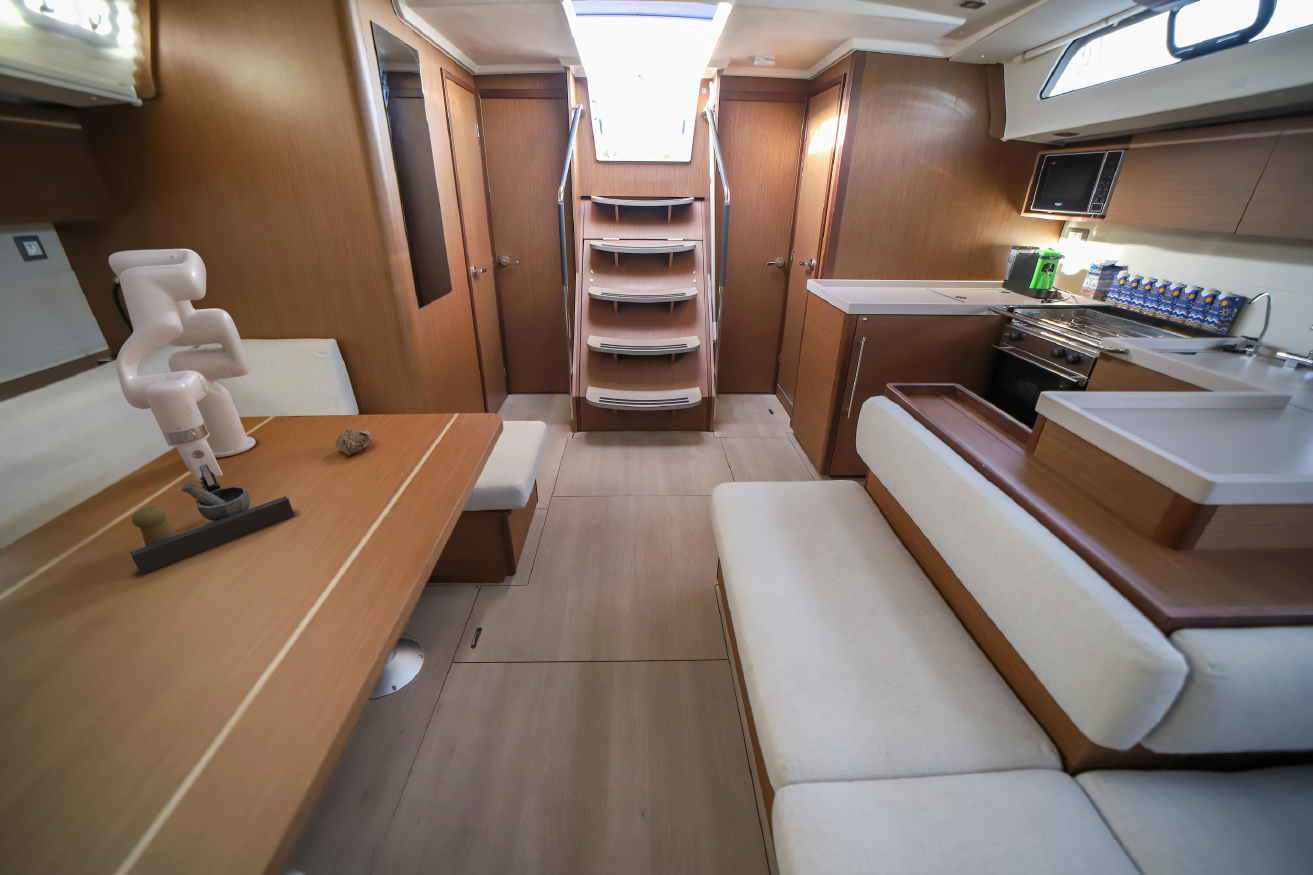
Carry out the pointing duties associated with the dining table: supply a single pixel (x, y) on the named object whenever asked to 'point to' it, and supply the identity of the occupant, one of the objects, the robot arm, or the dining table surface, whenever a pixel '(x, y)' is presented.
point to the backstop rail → (211, 535)
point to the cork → (153, 524)
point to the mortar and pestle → (219, 500)
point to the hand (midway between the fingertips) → (216, 499)
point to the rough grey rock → (353, 441)
